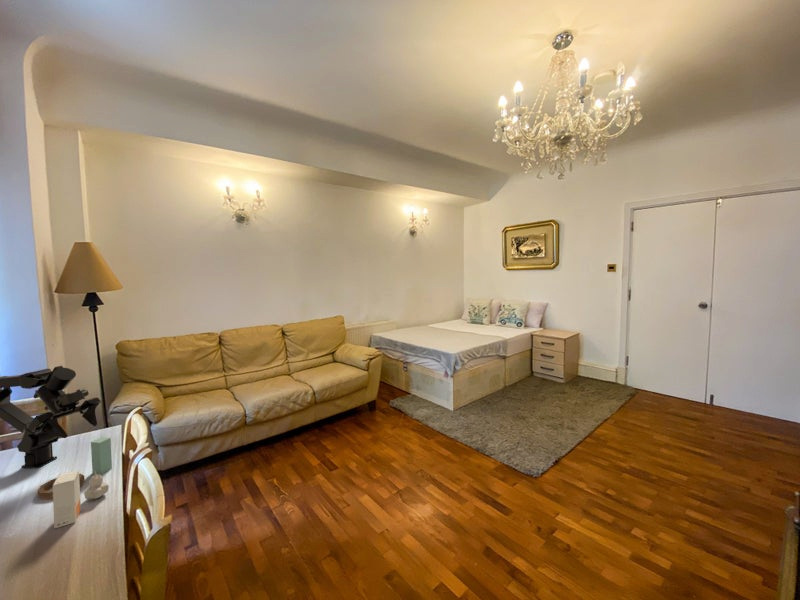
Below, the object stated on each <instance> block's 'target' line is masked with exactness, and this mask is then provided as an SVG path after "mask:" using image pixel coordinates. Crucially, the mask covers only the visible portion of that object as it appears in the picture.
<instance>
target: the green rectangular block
mask: <svg viewBox="0 0 800 600" xmlns="http://www.w3.org/2000/svg"><path fill="white" fill-rule="evenodd" d="M111 441H112V440H111V437H103V436H101V437H99V438H97V439H95V440H92V441H90V449H91V450H90V451H91V469H92V474H95V472H96V474H97V475H98V474H100V475H102V474H104V473H105V472H108V471H110V470H112V469H113V462H112V461H113V460H112V442H111Z"/></svg>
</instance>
